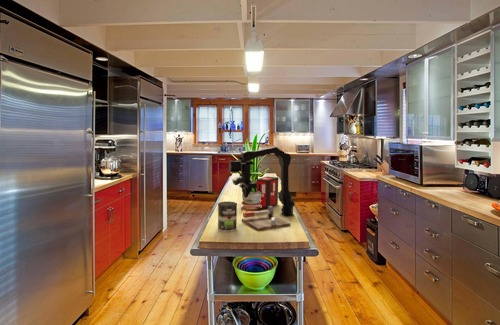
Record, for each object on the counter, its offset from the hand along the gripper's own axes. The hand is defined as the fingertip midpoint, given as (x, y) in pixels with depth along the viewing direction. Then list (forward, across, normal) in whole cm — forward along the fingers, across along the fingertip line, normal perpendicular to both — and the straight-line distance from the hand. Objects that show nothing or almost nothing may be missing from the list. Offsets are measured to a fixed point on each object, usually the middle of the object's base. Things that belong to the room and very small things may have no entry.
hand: (245, 197), depth 189 cm
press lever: (+11, +7, +5) cm, 14 cm away
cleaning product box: (+13, -22, +28) cm, 38 cm away
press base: (+13, +14, +6) cm, 20 cm away
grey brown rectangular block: (+11, +21, +7) cm, 25 cm away
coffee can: (+13, +14, -18) cm, 26 cm away
